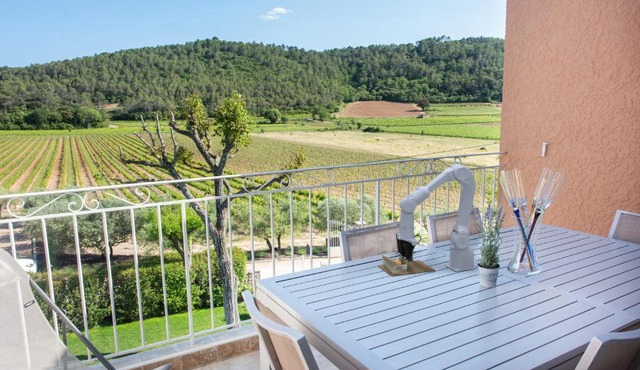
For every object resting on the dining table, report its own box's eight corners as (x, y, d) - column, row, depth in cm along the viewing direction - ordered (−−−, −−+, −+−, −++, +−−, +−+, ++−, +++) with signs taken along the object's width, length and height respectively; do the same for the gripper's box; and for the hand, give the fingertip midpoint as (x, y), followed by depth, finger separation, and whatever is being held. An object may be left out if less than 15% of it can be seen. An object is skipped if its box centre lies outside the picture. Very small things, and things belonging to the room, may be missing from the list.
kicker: (408, 262, 207) (409, 245, 206) (415, 267, 202) (416, 249, 201) (398, 264, 206) (398, 246, 205) (405, 268, 200) (405, 250, 199)
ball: (392, 257, 203) (389, 266, 203) (396, 259, 200) (393, 268, 200) (400, 259, 205) (397, 268, 205) (404, 262, 201) (401, 271, 201)
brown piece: (418, 261, 213) (419, 249, 213) (435, 270, 200) (435, 258, 199) (377, 266, 207) (377, 254, 207) (392, 276, 194) (392, 263, 193)
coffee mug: (394, 255, 223) (394, 234, 221) (396, 250, 231) (397, 230, 229) (419, 257, 219) (420, 236, 218) (421, 252, 227) (421, 231, 226)
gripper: (390, 223, 207) (390, 254, 209) (406, 231, 193) (406, 263, 195) (405, 222, 209) (405, 252, 211) (422, 229, 195) (421, 261, 197)
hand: (406, 257), depth 203 cm, fingers closed on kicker, 2 cm apart
